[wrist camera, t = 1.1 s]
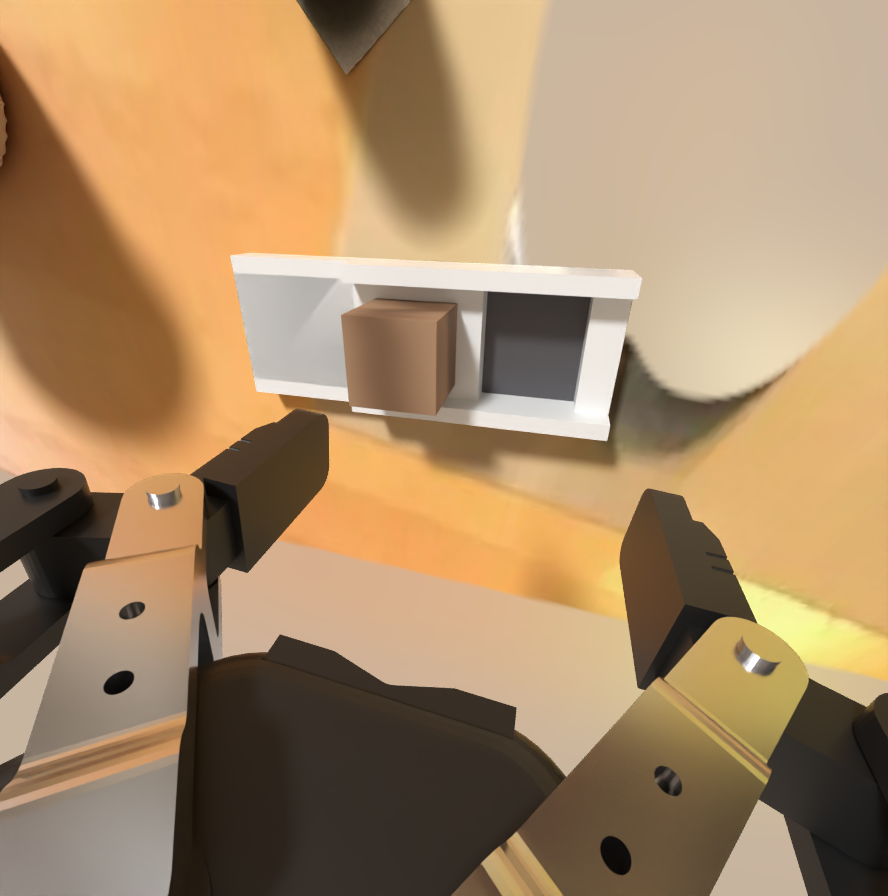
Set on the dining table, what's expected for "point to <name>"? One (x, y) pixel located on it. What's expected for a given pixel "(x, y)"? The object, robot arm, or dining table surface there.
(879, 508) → the dining table surface
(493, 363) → the channel
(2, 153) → the canister
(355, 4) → the condiment
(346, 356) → the walnut block
